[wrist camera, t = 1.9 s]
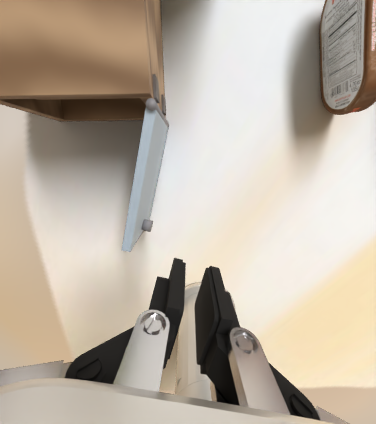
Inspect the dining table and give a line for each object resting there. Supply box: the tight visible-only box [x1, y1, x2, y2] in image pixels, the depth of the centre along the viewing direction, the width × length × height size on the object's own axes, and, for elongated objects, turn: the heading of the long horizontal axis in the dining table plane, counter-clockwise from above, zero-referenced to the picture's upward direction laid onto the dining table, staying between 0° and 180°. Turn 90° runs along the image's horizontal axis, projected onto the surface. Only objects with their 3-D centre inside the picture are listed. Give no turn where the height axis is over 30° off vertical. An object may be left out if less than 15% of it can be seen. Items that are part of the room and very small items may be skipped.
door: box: [122, 98, 169, 252], centre depth 25 cm, size 2×16×11 cm, turn 166°
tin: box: [320, 0, 376, 115], centre depth 22 cm, size 15×3×8 cm, turn 13°
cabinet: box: [0, 0, 166, 121], centre depth 20 cm, size 16×16×12 cm
